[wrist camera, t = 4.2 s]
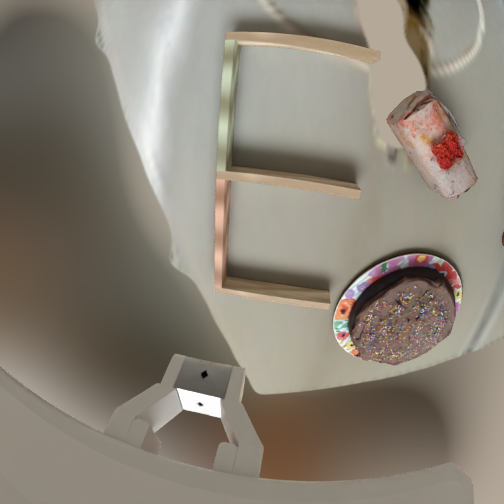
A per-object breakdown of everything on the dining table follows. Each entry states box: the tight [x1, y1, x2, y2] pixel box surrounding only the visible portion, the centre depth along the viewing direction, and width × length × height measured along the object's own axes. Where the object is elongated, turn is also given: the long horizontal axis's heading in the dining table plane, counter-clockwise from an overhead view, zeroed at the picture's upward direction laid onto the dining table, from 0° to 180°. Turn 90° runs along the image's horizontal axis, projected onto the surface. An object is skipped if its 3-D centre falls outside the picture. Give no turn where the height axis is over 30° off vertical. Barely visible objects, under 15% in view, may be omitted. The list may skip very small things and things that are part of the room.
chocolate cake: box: [333, 252, 462, 365], centre depth 43 cm, size 28×28×7 cm
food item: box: [386, 90, 478, 200], centre depth 26 cm, size 14×8×10 cm, turn 46°
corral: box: [215, 32, 381, 309], centre depth 36 cm, size 40×19×4 cm, turn 176°
